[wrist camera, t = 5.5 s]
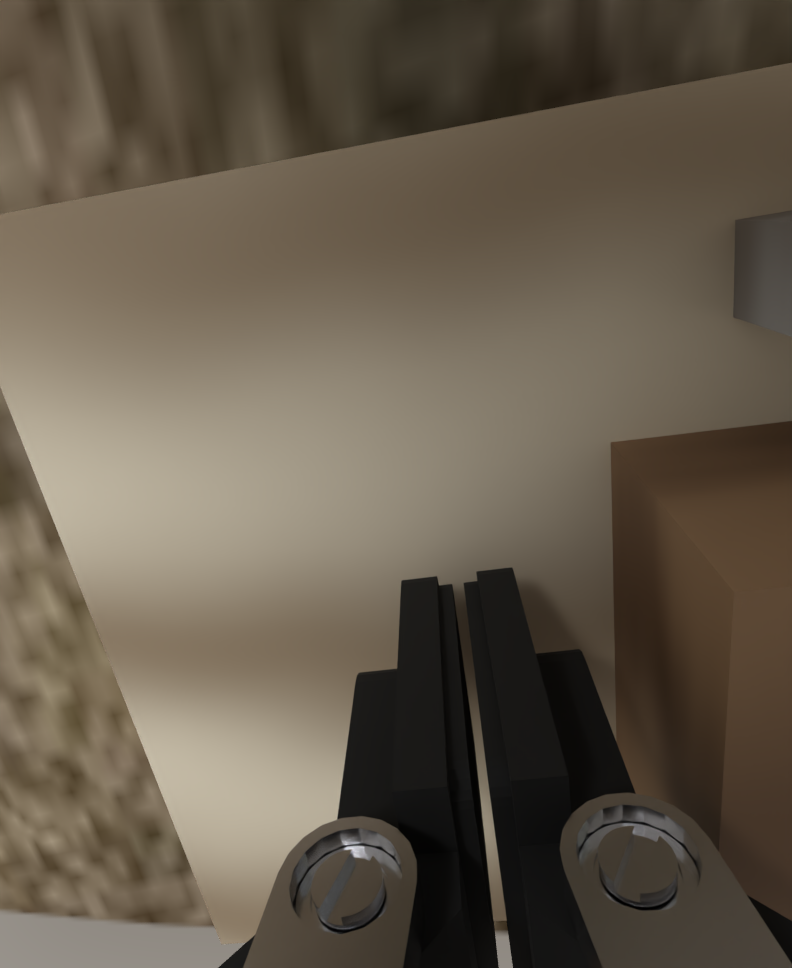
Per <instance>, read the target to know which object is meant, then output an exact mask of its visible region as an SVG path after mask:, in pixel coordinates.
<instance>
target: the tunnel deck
mask: <svg viewBox="0 0 792 968" xmlns="http://www.w3.org/2000/svg"><path fill="white" fill-rule="evenodd" d="M0 387H1V390H2V392H3V395H4V397H5V400H6V402H7V405H8V407H9V410H10V412H11V415H12V417H13V420H14V423H15V425H16V428H17V430H18V433H19V435H20V438H21V440H22V443H23V445H24V448H25V450H26V453H27V455H28V458H29V460H30V463H31V465H32V468H33V470H34V473H35V475H36V478H37V480H38V483H39V486H40V488H41V491H42V493H43V496H44V498H45V501H46V503H47V506H48V508H49V511H50V513H51V516H52V518H53V521H54V523H55V526H56V528H57V531H58V533H59V536H60V538H61V541H62V543H63V546H64V549H65V551H66V554H67V556H68V559H69V561H70V564H71V566H72V569H73V571H74V574H75V576H76V579H77V581H78V584H79V586H80V589H81V591H82V594H83V596H84V599H85V601H86V604H87V606H88V609H89V612H90V614H91V617H92V619H93V622H94V624H95V627H96V629H97V632H98V634H99V637H100V639H101V642H102V644H103V647H104V649H105V652H106V654H107V657H108V659H109V662H110V664H111V667H112V669H113V672H114V675H115V677H116V680H117V682H118V685H119V687H120V690H121V692H122V695H123V697H124V700H125V702H126V705H127V707H128V710H129V712H130V715H131V717H132V720H133V722H134V725H135V727H136V730H137V733H138V735H139V738H140V740H141V743H142V745H143V748H144V750H145V753H146V755H147V758H148V760H149V763H150V765H151V768H152V770H153V773H154V775H155V778H156V780H157V783H158V785H159V788H160V790H161V793H162V796H163V798H164V801H165V803H166V806H167V808H168V811H169V813H170V816H171V818H172V821H173V823H174V826H175V828H176V831H177V833H178V836H179V838H180V841H181V843H182V846H183V848H184V851H185V853H186V856H187V859H188V861H189V864H190V866H191V869H192V871H193V874H194V876H195V879H196V881H197V884H198V886H199V889H200V891H201V894H202V896H203V899H204V901H205V904H206V906H207V909H208V911H209V914H210V916H211V919H212V922H213V924H214V927H215V929H216V932H217V934H218V936H219V939H220V941H221V944H232V943H244V942H248V941H249V940H250V939H251V938H252V937H253V936H254V935H255V934H256V931H257V929H258V926H259V923H260V920H261V918H262V915H263V912H264V910H265V907H266V904H267V901H268V899H269V896H270V893H271V890H272V888H273V885H274V882H275V880H276V877H277V874H278V872H279V870H280V868H281V866H282V864H283V863H284V861H285V859H286V857H287V855H288V853H289V852H290V851H291V850H292V849H293V848H294V847H295V846H296V845H297V844H298V843H299V842H300V840H301V839H302V838H303V837H305V836H306V835H308V834H309V833H311V832H312V831H314V830H315V829H317V828H318V827H320V826H321V825H324V824H327V823H329V822H332V821H335V820H337V816H338V809H339V801H340V794H341V786H342V779H343V771H344V764H345V756H346V749H347V741H348V734H349V726H350V719H351V712H352V704H353V697H354V689H355V682H356V677H357V675H358V673H360V672H369V671H379V670H388V669H397V661H398V639H399V618H400V596H401V581H402V580H408V579H417V578H425V577H434V576H437V578H438V583H439V585H447V584H452V585H453V592H454V599H455V606H456V613H457V620H458V627H459V634H460V642H461V649H462V656H463V663H464V670H465V677H466V684H467V691H468V699H469V706H470V713H471V720H472V727H473V735H474V743H475V752H476V761H477V771H478V780H479V789H480V799H481V808H482V818H483V827H484V836H485V846H486V855H487V864H488V874H489V883H490V892H491V902H492V911H493V920H494V921H506V920H507V919H506V911H505V904H504V896H503V889H502V882H501V874H500V867H499V859H498V852H497V844H496V837H495V830H494V822H493V815H492V807H491V800H490V792H489V784H488V777H487V769H486V761H485V753H484V745H483V737H482V729H481V721H480V712H479V704H478V696H477V688H476V680H475V672H474V664H473V656H472V648H471V640H470V632H469V624H468V615H467V607H466V599H465V591H464V583H465V582H473V581H477V574H476V571H484V570H493V569H501V568H510V567H512V568H513V571H514V574H515V578H516V582H517V586H518V589H519V593H520V597H521V601H522V604H523V608H524V612H525V615H526V619H527V623H528V627H529V630H530V634H531V638H532V642H533V645H534V649H535V653H536V654H537V653H546V652H556V651H565V650H574V649H580V650H581V651H582V653H583V655H584V657H585V660H586V662H587V665H588V668H589V670H590V673H591V676H592V678H593V681H594V684H595V686H596V689H597V692H598V694H599V697H600V700H601V702H602V705H603V708H604V710H605V713H606V716H607V718H608V721H609V724H610V726H611V729H612V732H613V734H614V737H615V740H616V695H615V644H614V593H613V541H612V490H611V442H618V441H626V440H635V439H643V438H652V437H660V436H669V435H677V434H686V433H694V432H703V431H711V430H719V429H728V428H736V427H745V426H753V425H762V424H770V423H779V422H787V421H792V63H787V64H782V65H777V66H771V67H766V68H761V69H756V70H750V71H745V72H740V73H735V74H730V75H724V76H719V77H714V78H709V79H703V80H698V81H693V82H688V83H683V84H677V85H672V86H667V87H662V88H656V89H651V90H646V91H641V92H635V93H630V94H625V95H620V96H615V97H609V98H604V99H599V100H594V101H588V102H583V103H578V104H573V105H567V106H562V107H557V108H552V109H547V110H541V111H536V112H531V113H526V114H520V115H515V116H510V117H505V118H500V119H494V120H489V121H484V122H479V123H473V124H468V125H463V126H458V127H452V128H447V129H442V130H437V131H432V132H426V133H421V134H416V135H411V136H405V137H400V138H395V139H390V140H384V141H379V142H374V143H369V144H364V145H358V146H353V147H348V148H343V149H337V150H332V151H327V152H322V153H317V154H311V155H306V156H301V157H296V158H290V159H285V160H280V161H275V162H269V163H264V164H259V165H254V166H249V167H243V168H238V169H233V170H228V171H222V172H217V173H212V174H207V175H201V176H196V177H191V178H186V179H181V180H175V181H170V182H165V183H160V184H154V185H149V186H144V187H139V188H133V189H128V190H123V191H118V192H113V193H107V194H102V195H97V196H92V197H86V198H81V199H76V200H71V201H66V202H60V203H55V204H50V205H45V206H39V207H34V208H29V209H24V210H18V211H13V212H8V213H3V214H0Z"/></svg>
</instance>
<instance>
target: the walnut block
mask: <svg viewBox="0 0 792 968" xmlns="http://www.w3.org/2000/svg"><path fill="white" fill-rule="evenodd" d="M611 490H612V541H613V593H614V644H615V695H616V742H617V745H618V748H619V750H620V753H621V755H622V758H623V761H624V763H625V766H626V769H627V771H628V774H629V777H630V779H631V782H632V785H633V787H634V790H635V793H636V794H640V795H646V796H651V797H654V798H656V799H659V800H661V801H664V802H666V803H669V804H671V805H673V806H675V807H676V808H678V809H679V810H681V811H682V812H683V813H685V814H686V815H688V816H689V817H691V818H692V819H693V820H694V821H695V822H696V823H697V824H698V825H699V827H700V828H701V829H702V830H703V831H704V832H705V833H706V835H707V836H708V837H709V838H710V840H711V841H712V843H713V844H714V846H715V847H716V849H717V850H718V852H719V854H720V855H721V857H722V858H723V860H724V861H725V863H726V864H727V866H728V867H729V869H730V870H731V872H732V873H733V875H734V876H735V878H736V879H737V881H738V883H739V884H740V886H741V887H742V889H743V890H744V892H745V893H746V895H748V896H750V897H752V898H753V899H755V900H757V901H758V902H760V903H762V904H764V905H765V906H767V907H769V908H770V909H772V910H774V911H776V912H777V913H779V914H781V915H782V916H784V917H786V918H788V919H789V920H791V921H792V421H787V422H779V423H770V424H762V425H753V426H745V427H736V428H728V429H719V430H711V431H703V432H694V433H686V434H677V435H669V436H660V437H652V438H643V439H635V440H626V441H618V442H611Z"/></svg>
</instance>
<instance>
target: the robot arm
mask: <svg viewBox="0 0 792 968" xmlns="http://www.w3.org/2000/svg"><path fill="white" fill-rule="evenodd" d="M476 574H477V581H473V582H465V583H464V591H465V599H466V607H467V615H468V624H469V632H470V640H471V648H472V656H473V664H474V672H475V680H476V688H477V696H478V704H479V712H480V721H481V729H482V737H483V745H484V753H485V761H486V769H487V777H488V784H489V792H490V800H491V807H492V815H493V822H494V830H495V837H496V844H497V852H498V859H499V867H500V874H501V882H502V889H503V896H504V904H505V911H506V919H507V926H508V934H509V941H510V948H511V956H512V963H513V968H792V921H791V920H789V919H788V918H786V917H784V916H782V915H781V914H779V913H777V912H776V911H774V910H772V909H770V908H769V907H767V906H765V905H764V904H762V903H760V902H758V901H757V900H755V899H753V898H752V897H750V896H748V895H746V893H745V892H744V890H743V889H742V887H741V886H740V884H739V883H738V881H737V879H736V878H735V876H734V875H733V873H732V872H731V870H730V869H729V867H728V866H727V864H726V863H725V861H724V860H723V858H722V857H721V855H720V854H719V852H718V850H717V849H716V847H715V846H714V844H713V843H712V841H711V840H710V838H709V837H708V836H707V835H706V833H705V832H704V831H703V830H702V829H701V828H700V827H699V825H698V824H697V823H696V822H695V821H694V820H693V819H692V818H691V817H689V816H688V815H686V814H685V813H683V812H682V811H681V810H679V809H678V808H676V807H675V806H673V805H671V804H669V803H666V802H664V801H661V800H659V799H656V798H654V797H651V796H646V795H640V794H636V793H635V790H634V787H633V785H632V782H631V779H630V777H629V774H628V771H627V769H626V766H625V763H624V761H623V758H622V755H621V753H620V750H619V748H618V745H617V742H616V740H615V737H614V734H613V732H612V729H611V726H610V724H609V721H608V718H607V716H606V713H605V710H604V708H603V705H602V702H601V700H600V697H599V694H598V692H597V689H596V686H595V684H594V681H593V678H592V676H591V673H590V670H589V668H588V665H587V662H586V660H585V657H584V655H583V653H582V651H581V650H580V649H574V650H565V651H556V652H546V653H537V654H536V653H535V649H534V645H533V642H532V638H531V634H530V630H529V627H528V623H527V619H526V615H525V612H524V608H523V604H522V601H521V597H520V593H519V589H518V586H517V582H516V578H515V574H514V571H513V568H512V567H510V568H501V569H493V570H484V571H476ZM219 968H499V967H498V958H497V950H496V939H495V930H494V920H493V911H492V902H491V892H490V883H489V874H488V864H487V855H486V846H485V836H484V827H483V818H482V808H481V799H480V789H479V780H478V771H477V761H476V752H475V743H474V735H473V727H472V720H471V713H470V706H469V699H468V691H467V684H466V677H465V670H464V663H463V656H462V649H461V642H460V634H459V627H458V620H457V613H456V606H455V599H454V592H453V585H452V584H447V585H439V583H438V578H437V576H434V577H425V578H417V579H408V580H402V581H401V596H400V618H399V639H398V661H397V669H388V670H379V671H369V672H360V673H358V675H357V677H356V682H355V689H354V697H353V704H352V712H351V719H350V726H349V734H348V741H347V749H346V756H345V764H344V771H343V779H342V786H341V794H340V801H339V809H338V816H337V820H335V821H332V822H329V823H327V824H324V825H321V826H320V827H318V828H317V829H315V830H314V831H312V832H311V833H309V834H308V835H306V836H305V837H303V838H302V839H301V840H300V842H299V843H298V844H297V845H296V846H295V847H294V848H293V849H292V850H291V851H290V852H289V853H288V855H287V857H286V859H285V861H284V863H283V864H282V866H281V868H280V870H279V872H278V874H277V877H276V880H275V882H274V885H273V888H272V890H271V893H270V896H269V899H268V901H267V904H266V907H265V910H264V912H263V915H262V918H261V920H260V923H259V926H258V929H257V931H256V934H255V935H254V936H253V937H252V938H251V939H250V940H249V941H248V942H246V943H245V944H244V945H243V946H242V947H241V948H240V949H239V950H238V951H236V952H235V953H234V954H233V955H232V956H231V957H230V958H229V959H228V960H226V961H225V962H224V963H223V964H222V965H221V966H220V967H219Z"/></svg>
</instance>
